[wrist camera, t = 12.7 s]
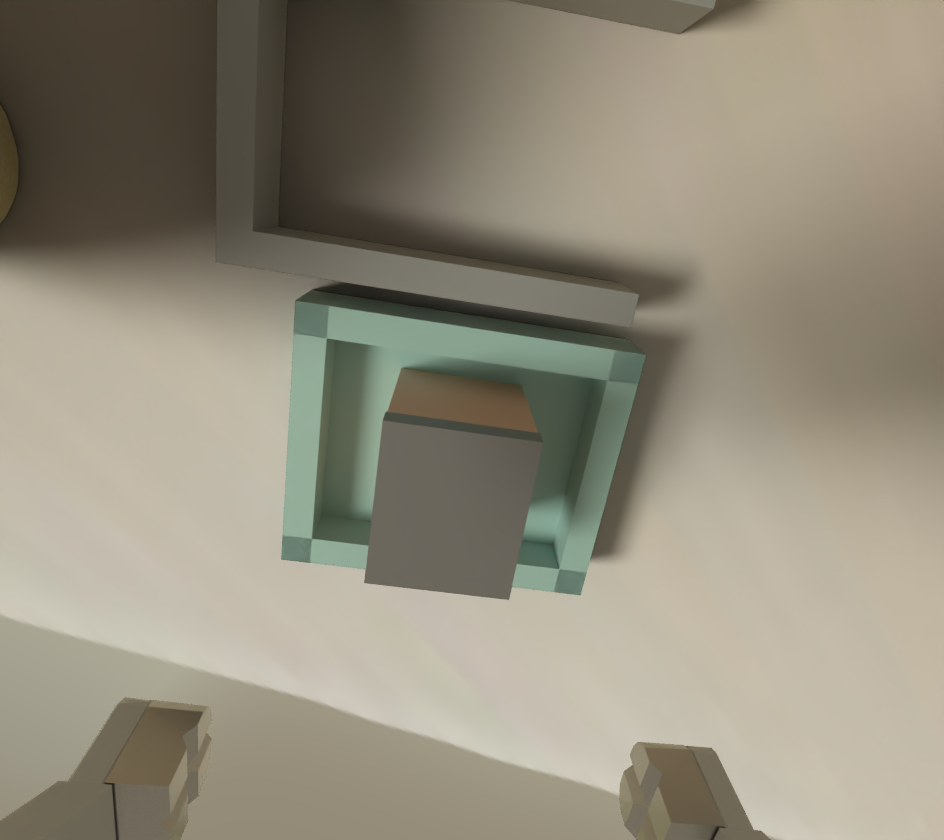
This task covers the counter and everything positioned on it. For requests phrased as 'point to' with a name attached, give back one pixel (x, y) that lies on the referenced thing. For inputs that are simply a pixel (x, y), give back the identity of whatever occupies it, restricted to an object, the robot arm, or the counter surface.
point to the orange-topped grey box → (452, 485)
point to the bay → (362, 262)
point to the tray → (460, 354)
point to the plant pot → (7, 166)
